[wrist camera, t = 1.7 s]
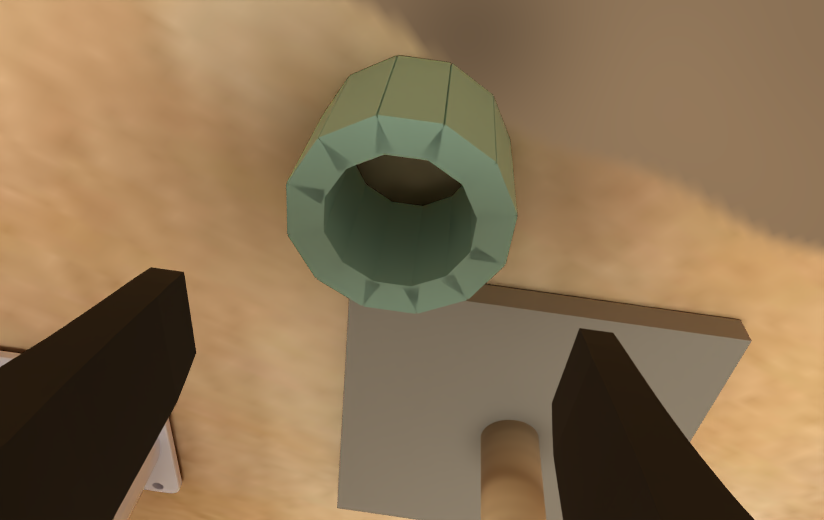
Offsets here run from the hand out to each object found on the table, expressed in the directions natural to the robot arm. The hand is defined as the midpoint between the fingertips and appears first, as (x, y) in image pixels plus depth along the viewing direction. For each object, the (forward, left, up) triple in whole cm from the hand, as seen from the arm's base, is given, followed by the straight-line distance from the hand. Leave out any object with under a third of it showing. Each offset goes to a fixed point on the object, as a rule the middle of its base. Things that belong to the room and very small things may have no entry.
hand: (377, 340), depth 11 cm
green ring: (0, 0, -8) cm, 8 cm away
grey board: (+5, -11, -8) cm, 14 cm away
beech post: (+5, -11, -7) cm, 14 cm away
